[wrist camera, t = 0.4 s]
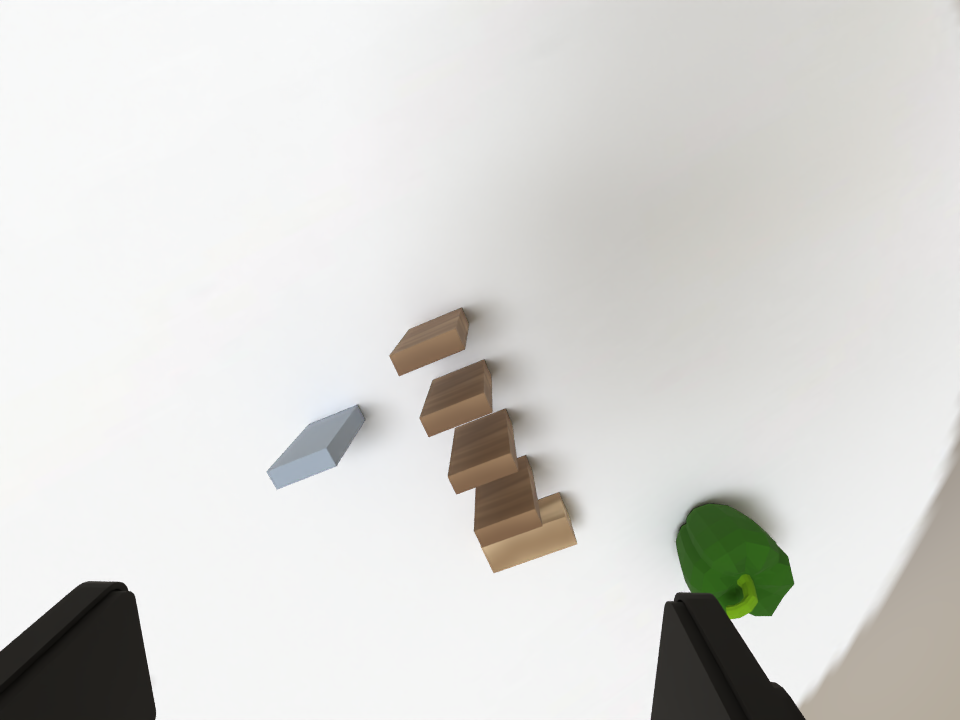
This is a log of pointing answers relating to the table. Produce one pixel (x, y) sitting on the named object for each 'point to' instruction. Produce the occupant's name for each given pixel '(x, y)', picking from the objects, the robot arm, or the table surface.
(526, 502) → the walnut tile
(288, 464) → the blue grey rectangular block
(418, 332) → the walnut tile
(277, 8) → the table surface
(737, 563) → the bell pepper
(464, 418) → the walnut tile
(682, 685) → the robot arm
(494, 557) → the oak end block
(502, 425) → the walnut tile
